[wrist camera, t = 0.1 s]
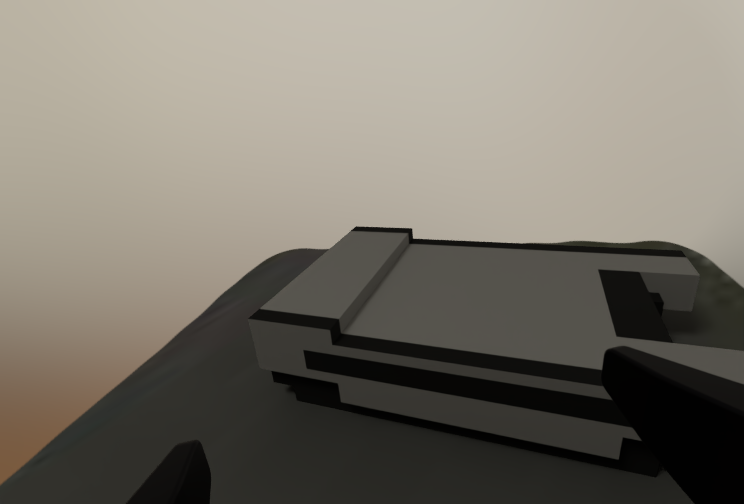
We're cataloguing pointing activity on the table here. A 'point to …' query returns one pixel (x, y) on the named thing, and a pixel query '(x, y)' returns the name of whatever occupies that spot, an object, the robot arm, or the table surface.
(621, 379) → the robot arm
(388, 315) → the office tray
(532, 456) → the table surface
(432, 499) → the table surface
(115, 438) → the table surface
